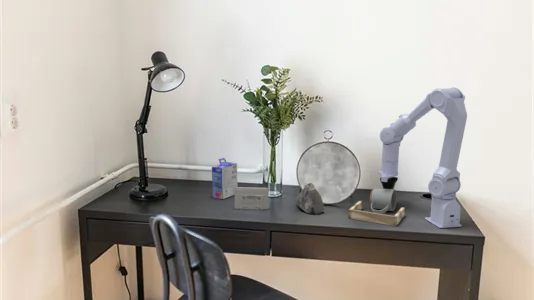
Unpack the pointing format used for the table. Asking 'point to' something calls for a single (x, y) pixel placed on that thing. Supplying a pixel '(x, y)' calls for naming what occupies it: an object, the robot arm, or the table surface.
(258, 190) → the cassette
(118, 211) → the table surface
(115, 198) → the table surface
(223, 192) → the ink cartridge box
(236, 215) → the table surface
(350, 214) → the bracket
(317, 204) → the mineral rock
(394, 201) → the ceramic mug
